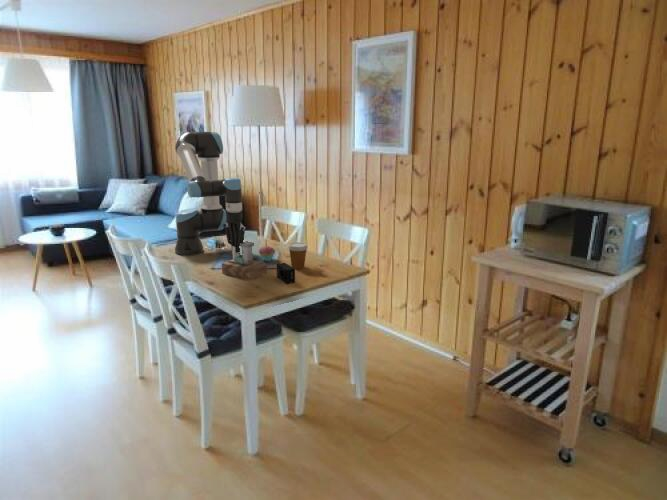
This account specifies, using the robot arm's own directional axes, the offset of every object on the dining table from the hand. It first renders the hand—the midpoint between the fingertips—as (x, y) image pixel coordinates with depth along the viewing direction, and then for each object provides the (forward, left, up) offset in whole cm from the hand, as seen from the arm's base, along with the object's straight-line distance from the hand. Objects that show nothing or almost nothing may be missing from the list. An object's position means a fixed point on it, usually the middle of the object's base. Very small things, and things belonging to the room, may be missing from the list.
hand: (235, 258), depth 223 cm
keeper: (+3, 0, -1) cm, 3 cm away
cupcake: (0, +23, -7) cm, 24 cm away
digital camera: (+27, +3, -7) cm, 28 cm away
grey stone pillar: (+7, 0, -7) cm, 10 cm away
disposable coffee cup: (+21, +22, -7) cm, 31 cm away
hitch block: (+5, 0, -7) cm, 8 cm away
